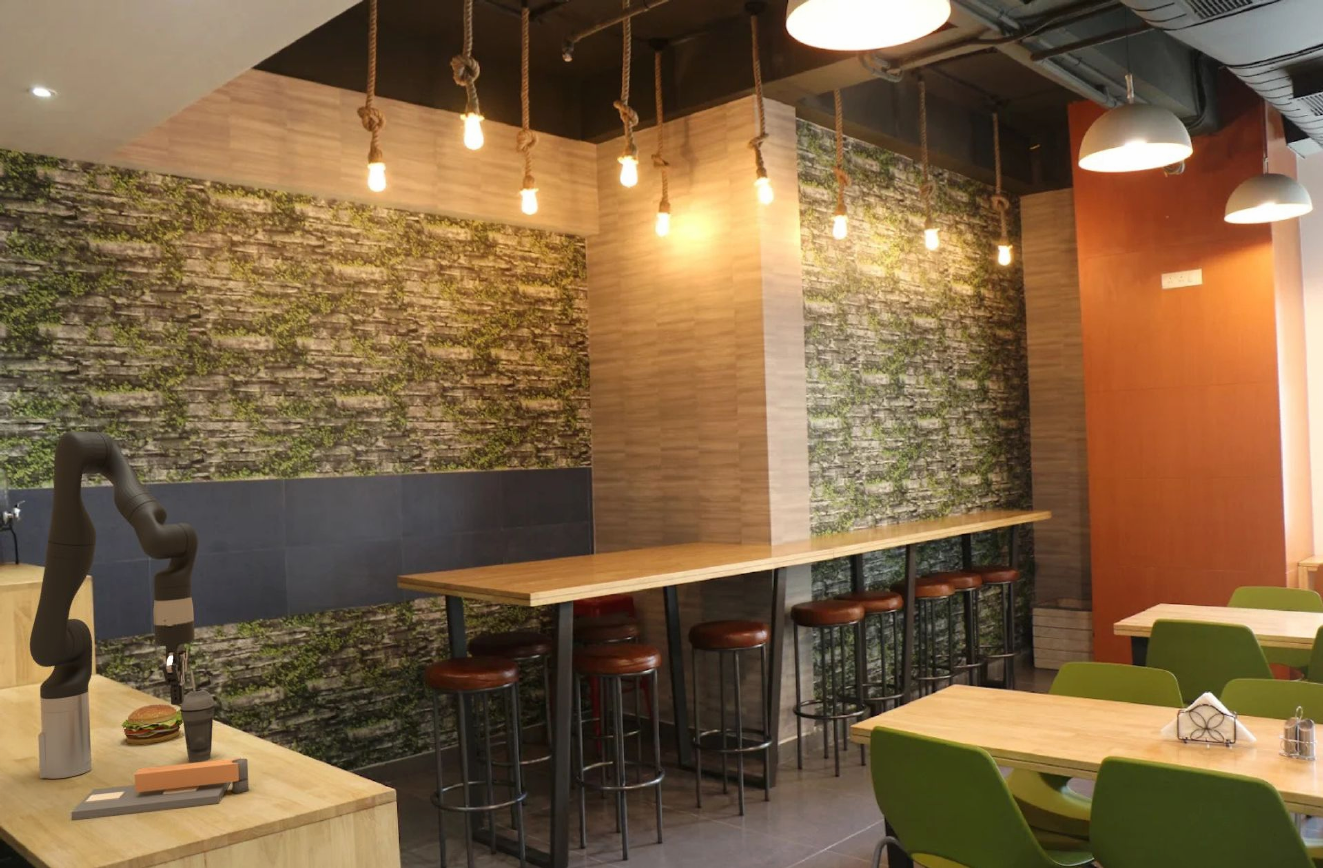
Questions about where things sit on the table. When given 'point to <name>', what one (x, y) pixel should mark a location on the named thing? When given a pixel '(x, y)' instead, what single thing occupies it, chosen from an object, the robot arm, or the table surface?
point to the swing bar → (191, 774)
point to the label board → (151, 799)
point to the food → (152, 724)
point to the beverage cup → (198, 723)
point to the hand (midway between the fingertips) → (177, 703)
